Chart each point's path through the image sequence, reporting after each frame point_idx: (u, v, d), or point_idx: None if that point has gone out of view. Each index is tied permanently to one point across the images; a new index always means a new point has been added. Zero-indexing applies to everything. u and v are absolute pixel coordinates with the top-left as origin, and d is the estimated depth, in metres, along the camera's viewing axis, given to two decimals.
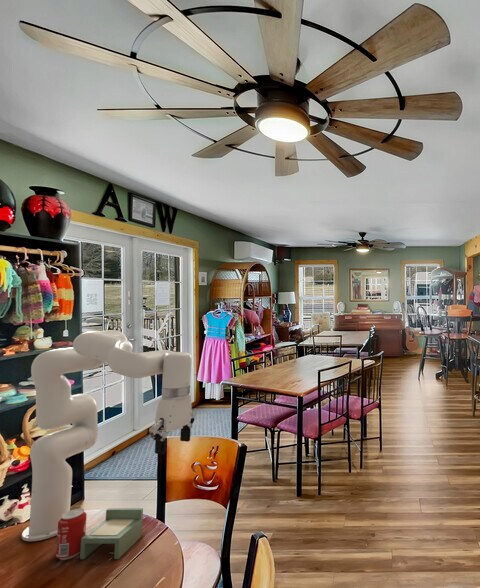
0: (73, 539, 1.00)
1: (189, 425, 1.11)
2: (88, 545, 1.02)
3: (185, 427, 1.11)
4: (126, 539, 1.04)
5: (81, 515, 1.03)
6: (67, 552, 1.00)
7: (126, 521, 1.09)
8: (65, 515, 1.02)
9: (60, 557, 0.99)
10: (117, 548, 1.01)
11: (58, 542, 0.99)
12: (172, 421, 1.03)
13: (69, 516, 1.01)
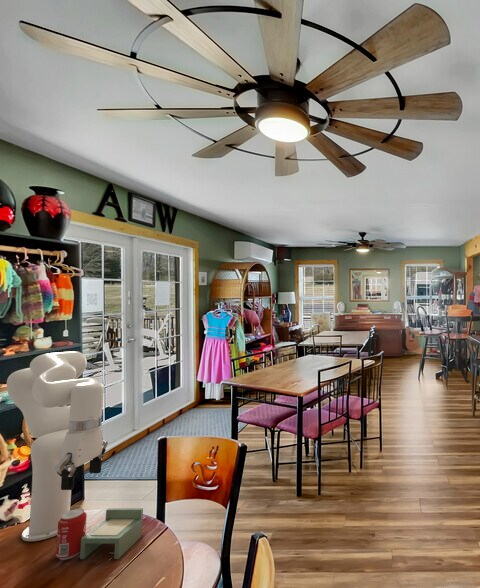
0: (73, 539, 1.00)
1: (100, 456, 1.08)
2: (88, 545, 1.02)
3: (95, 458, 1.08)
4: (126, 539, 1.04)
5: (81, 515, 1.03)
6: (67, 552, 1.00)
7: (126, 521, 1.09)
8: (65, 515, 1.02)
9: (60, 557, 0.99)
10: (117, 548, 1.01)
11: (58, 542, 0.99)
12: (82, 455, 1.00)
13: (69, 516, 1.01)
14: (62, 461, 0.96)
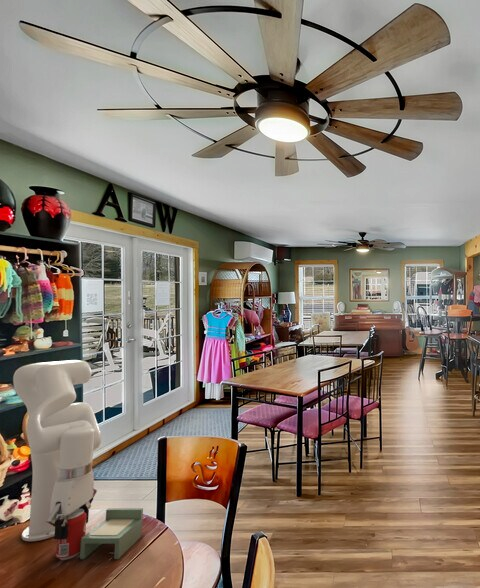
0: (73, 539, 1.00)
1: (88, 505, 1.06)
2: (88, 545, 1.02)
3: (82, 508, 1.06)
4: (126, 539, 1.04)
5: (81, 516, 1.03)
6: (67, 552, 1.00)
7: (126, 521, 1.09)
8: None
9: (60, 557, 0.99)
10: (117, 548, 1.01)
11: (58, 542, 0.99)
12: (71, 503, 1.00)
13: (69, 516, 1.01)
14: (52, 514, 0.96)
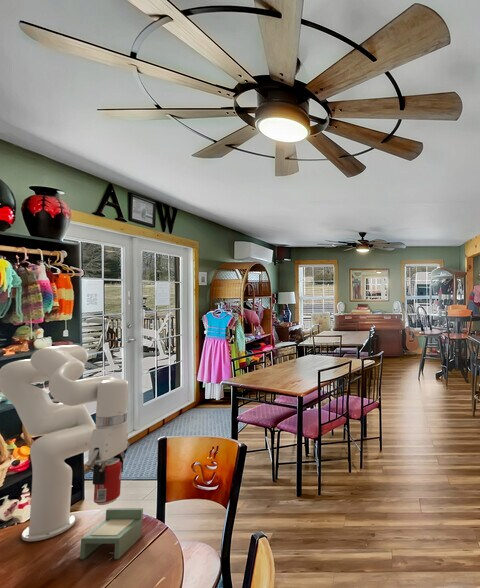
0: (110, 485, 1.04)
1: (122, 455, 1.10)
2: (88, 545, 1.02)
3: None
4: (126, 539, 1.04)
5: (117, 463, 1.06)
6: (105, 497, 1.03)
7: (126, 521, 1.09)
8: None
9: (98, 502, 1.02)
10: (117, 548, 1.01)
11: (96, 488, 1.03)
12: (108, 450, 1.03)
13: (106, 463, 1.05)
14: (91, 458, 0.99)
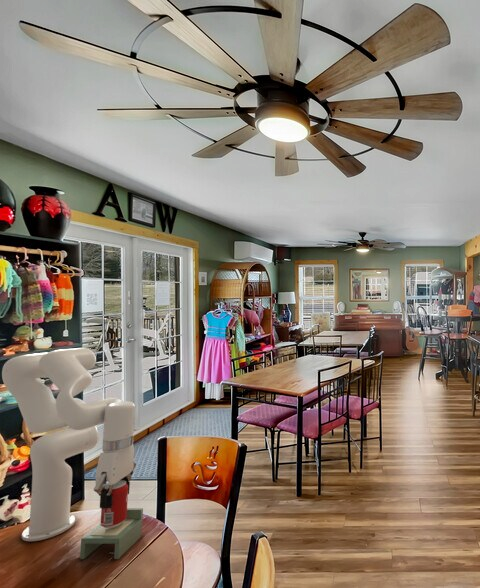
0: (117, 509, 1.04)
1: (128, 477, 1.10)
2: (88, 545, 1.02)
3: None
4: (126, 539, 1.04)
5: (124, 486, 1.06)
6: (112, 520, 1.03)
7: (126, 521, 1.09)
8: None
9: (105, 525, 1.03)
10: (117, 548, 1.01)
11: (103, 511, 1.03)
12: (115, 473, 1.03)
13: (113, 487, 1.05)
14: (99, 483, 1.00)
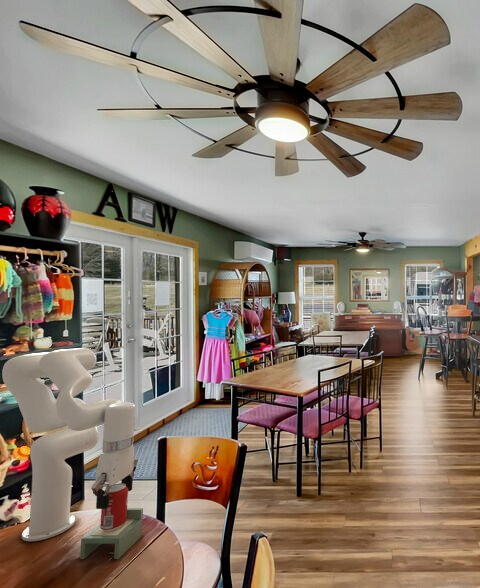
0: (117, 512, 1.04)
1: (131, 474, 1.11)
2: (88, 545, 1.02)
3: (126, 477, 1.11)
4: (126, 539, 1.04)
5: (124, 489, 1.06)
6: (112, 524, 1.03)
7: (126, 521, 1.09)
8: None
9: (105, 529, 1.03)
10: (117, 548, 1.01)
11: (103, 514, 1.03)
12: (115, 474, 1.03)
13: (112, 490, 1.05)
14: (98, 481, 0.99)
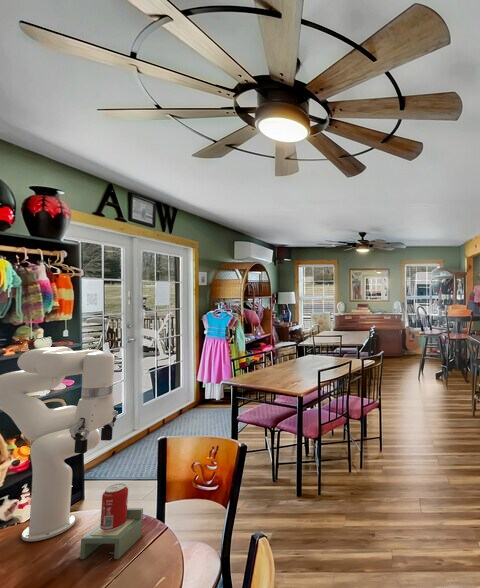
0: (117, 512, 1.04)
1: (111, 424, 1.13)
2: (88, 545, 1.02)
3: (106, 426, 1.13)
4: (126, 539, 1.04)
5: (124, 489, 1.06)
6: (112, 524, 1.03)
7: (126, 521, 1.09)
8: (108, 489, 1.06)
9: (105, 529, 1.03)
10: (117, 548, 1.01)
11: (103, 514, 1.03)
12: (94, 420, 1.05)
13: (112, 490, 1.05)
14: (75, 425, 1.01)
